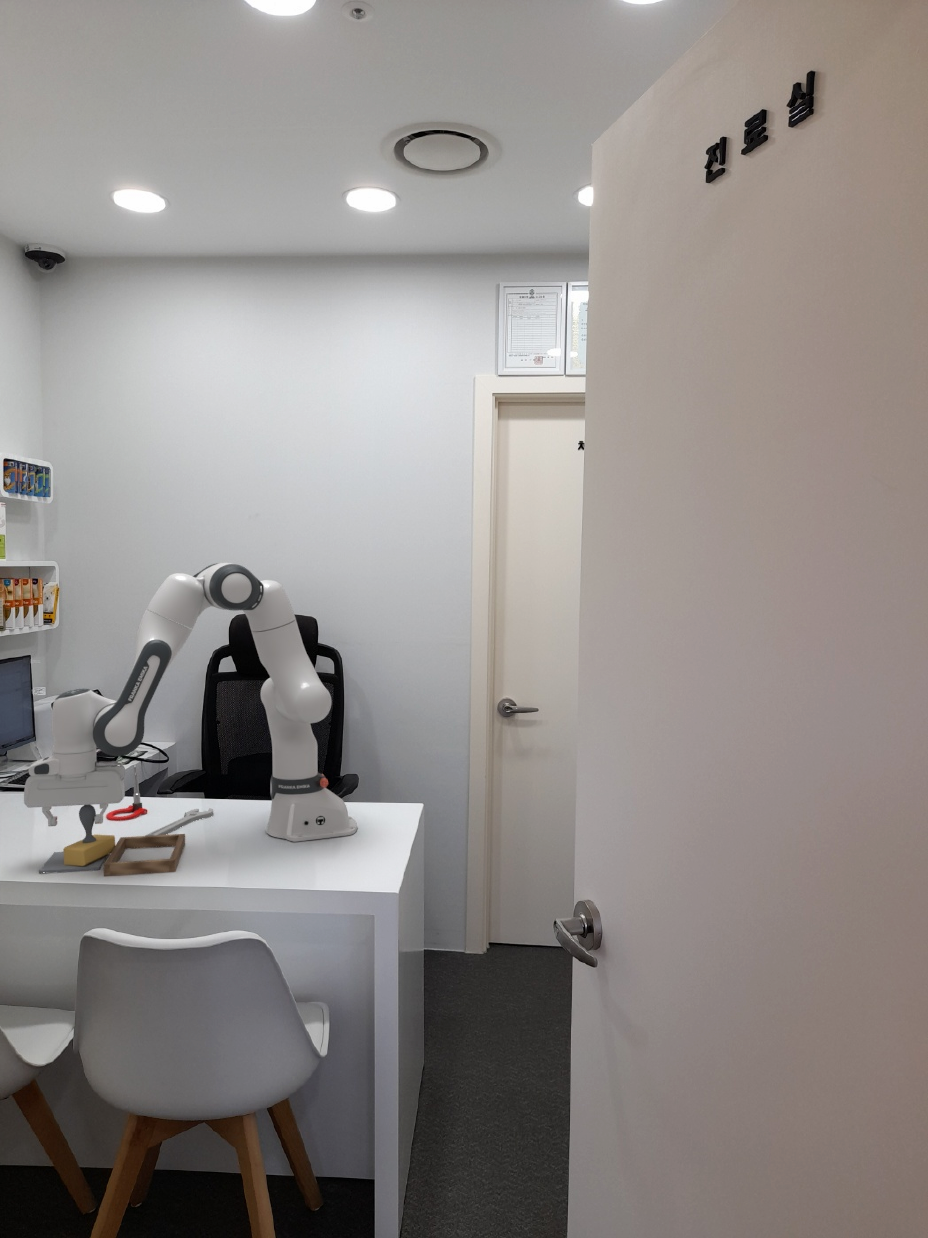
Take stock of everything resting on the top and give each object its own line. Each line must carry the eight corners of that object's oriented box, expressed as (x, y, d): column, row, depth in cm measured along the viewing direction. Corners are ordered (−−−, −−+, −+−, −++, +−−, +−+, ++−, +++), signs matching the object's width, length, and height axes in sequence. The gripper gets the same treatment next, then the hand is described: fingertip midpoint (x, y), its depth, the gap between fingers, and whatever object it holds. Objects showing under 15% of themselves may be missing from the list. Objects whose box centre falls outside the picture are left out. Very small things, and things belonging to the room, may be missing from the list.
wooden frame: (185, 844, 196) (185, 833, 196) (175, 871, 178) (174, 860, 178) (120, 848, 193) (120, 837, 192) (103, 876, 175) (103, 864, 174)
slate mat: (110, 851, 190) (110, 849, 190) (99, 870, 178) (99, 867, 178) (54, 854, 188) (54, 852, 187) (39, 873, 176) (39, 871, 176)
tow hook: (119, 824, 212) (150, 814, 219) (116, 775, 211) (147, 767, 218) (99, 819, 216) (130, 809, 224) (96, 771, 215) (127, 763, 223)
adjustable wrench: (150, 844, 197) (150, 837, 197) (129, 841, 199) (129, 834, 199) (217, 815, 220) (217, 809, 220) (197, 813, 222) (197, 806, 222)
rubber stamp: (95, 849, 189) (92, 798, 189) (116, 851, 187) (113, 799, 187) (63, 864, 180) (59, 810, 179) (84, 866, 178) (80, 811, 177)
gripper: (127, 757, 187) (128, 817, 188) (29, 761, 183) (30, 822, 183) (122, 764, 181) (123, 825, 182) (20, 768, 176) (22, 831, 177)
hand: (75, 824), depth 182 cm, fingers open, 8 cm apart
